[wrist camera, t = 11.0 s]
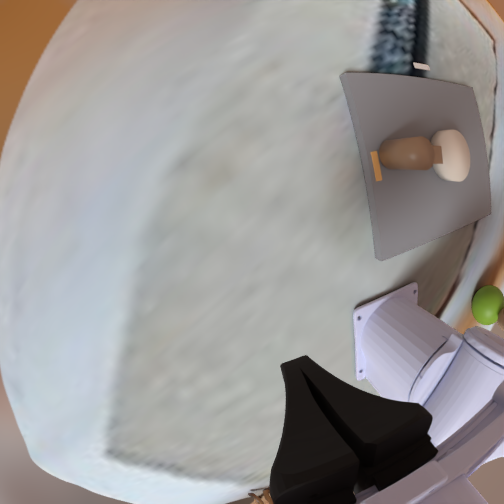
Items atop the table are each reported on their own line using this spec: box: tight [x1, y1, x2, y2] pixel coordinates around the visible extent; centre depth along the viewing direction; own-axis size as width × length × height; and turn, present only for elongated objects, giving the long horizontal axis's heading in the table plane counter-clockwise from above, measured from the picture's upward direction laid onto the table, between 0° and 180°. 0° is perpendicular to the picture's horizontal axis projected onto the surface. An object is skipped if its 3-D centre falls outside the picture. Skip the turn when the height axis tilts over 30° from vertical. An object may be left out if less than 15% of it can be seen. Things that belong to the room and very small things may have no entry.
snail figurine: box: [472, 285, 504, 331], centre depth 23 cm, size 5×6×12 cm
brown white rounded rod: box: [379, 130, 470, 182], centre depth 18 cm, size 12×5×4 cm, turn 98°
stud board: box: [340, 62, 491, 261], centre depth 21 cm, size 18×20×1 cm
